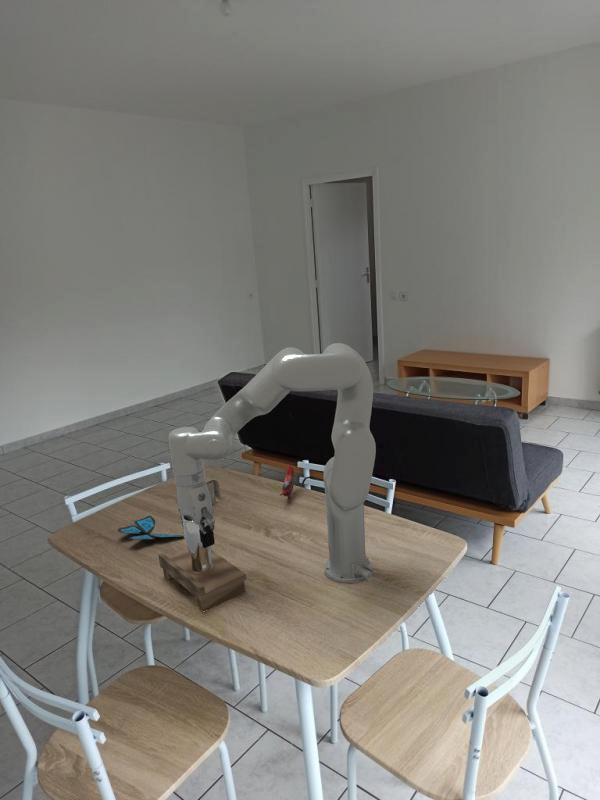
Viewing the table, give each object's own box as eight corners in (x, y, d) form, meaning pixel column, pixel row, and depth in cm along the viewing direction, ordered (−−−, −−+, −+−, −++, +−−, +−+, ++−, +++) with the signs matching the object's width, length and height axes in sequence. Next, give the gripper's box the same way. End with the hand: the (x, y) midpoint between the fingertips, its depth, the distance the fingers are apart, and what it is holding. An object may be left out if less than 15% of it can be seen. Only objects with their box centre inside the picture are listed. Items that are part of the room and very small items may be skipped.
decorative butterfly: (110, 532, 181) (109, 524, 180) (151, 518, 191) (151, 510, 190) (143, 558, 167) (142, 549, 166) (186, 542, 177) (185, 533, 176)
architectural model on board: (196, 514, 193) (192, 486, 190) (190, 511, 194) (186, 484, 192) (221, 501, 201) (218, 475, 198) (216, 499, 203) (213, 473, 200)
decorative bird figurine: (297, 489, 204) (295, 463, 202) (285, 512, 188) (283, 484, 185) (289, 489, 205) (287, 463, 202) (277, 512, 188) (274, 484, 186)
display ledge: (247, 591, 147) (245, 567, 145) (203, 614, 140) (199, 588, 138) (203, 558, 164) (201, 536, 162) (161, 577, 156) (158, 554, 154)
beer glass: (184, 575, 147) (177, 521, 143) (193, 560, 154) (187, 508, 150) (211, 576, 146) (204, 522, 142) (219, 561, 153) (213, 509, 149)
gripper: (221, 481, 139) (229, 545, 144) (186, 464, 152) (195, 523, 157) (193, 491, 135) (203, 557, 139) (160, 472, 148) (170, 533, 153)
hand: (199, 539), depth 148 cm, fingers open, 9 cm apart
